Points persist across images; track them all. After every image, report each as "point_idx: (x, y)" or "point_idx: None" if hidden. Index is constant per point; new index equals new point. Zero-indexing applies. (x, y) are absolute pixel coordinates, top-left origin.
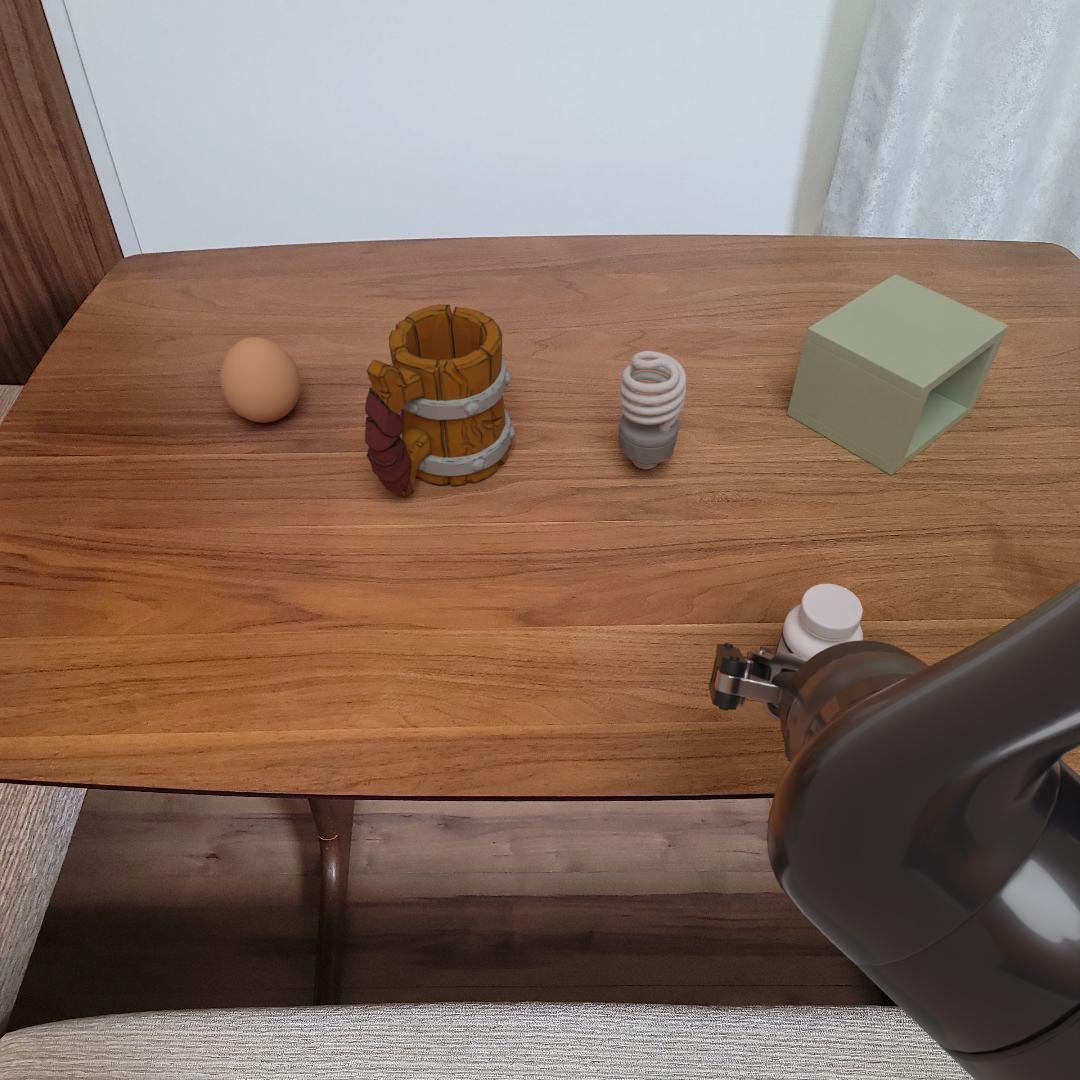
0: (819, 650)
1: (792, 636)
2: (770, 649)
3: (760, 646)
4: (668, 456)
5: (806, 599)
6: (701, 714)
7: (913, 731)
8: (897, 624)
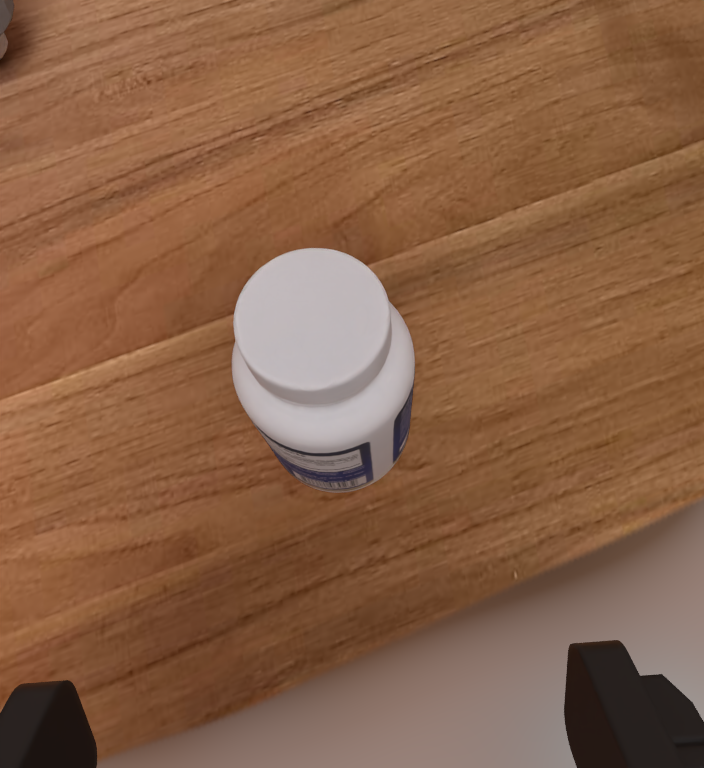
0: (316, 427)
1: (249, 404)
2: (30, 725)
3: (12, 693)
4: (1, 26)
5: (242, 319)
6: (160, 553)
7: None
8: (478, 232)
